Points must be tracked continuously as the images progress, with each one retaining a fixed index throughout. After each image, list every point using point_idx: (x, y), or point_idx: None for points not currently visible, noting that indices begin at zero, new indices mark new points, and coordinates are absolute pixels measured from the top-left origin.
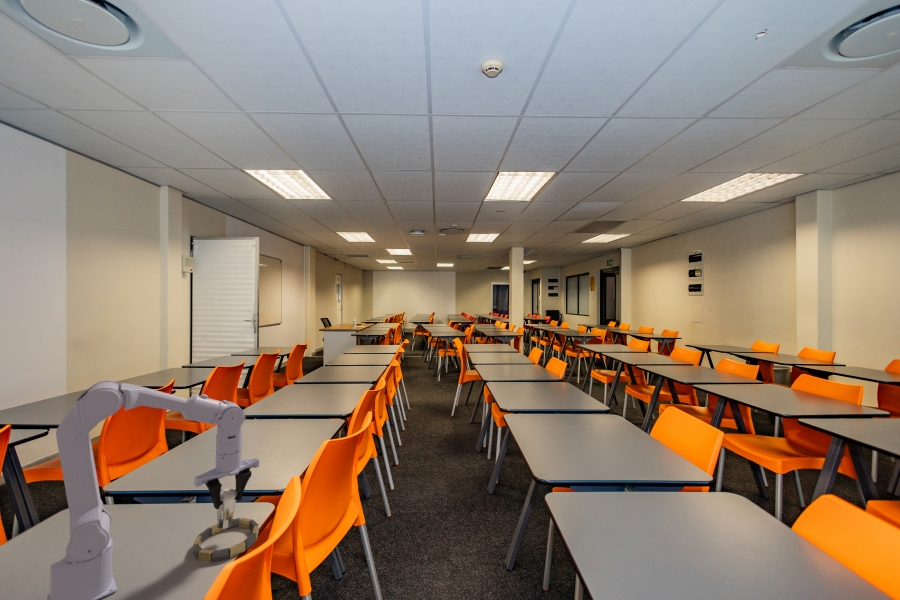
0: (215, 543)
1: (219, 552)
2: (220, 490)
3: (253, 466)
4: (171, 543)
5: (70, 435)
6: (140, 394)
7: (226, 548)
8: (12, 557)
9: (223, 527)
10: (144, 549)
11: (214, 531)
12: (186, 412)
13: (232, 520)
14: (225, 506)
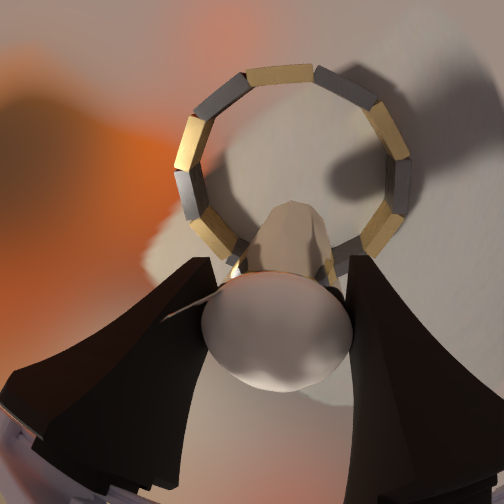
0: (327, 201)
1: (352, 83)
2: (394, 387)
3: (22, 436)
4: (407, 294)
5: None
6: None
7: (323, 86)
8: (499, 382)
9: (308, 205)
10: (446, 309)
11: None
12: None
13: None
14: (306, 255)
